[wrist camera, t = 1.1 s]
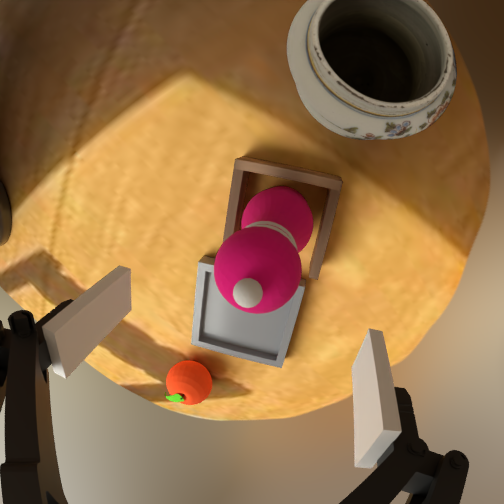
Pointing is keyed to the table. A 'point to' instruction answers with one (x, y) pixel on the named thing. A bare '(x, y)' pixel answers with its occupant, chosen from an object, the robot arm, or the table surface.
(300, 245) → the pepper mill
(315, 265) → the cubby
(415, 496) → the robot arm
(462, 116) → the table surface
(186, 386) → the clementine
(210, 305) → the tray
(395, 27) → the apothecary jar
